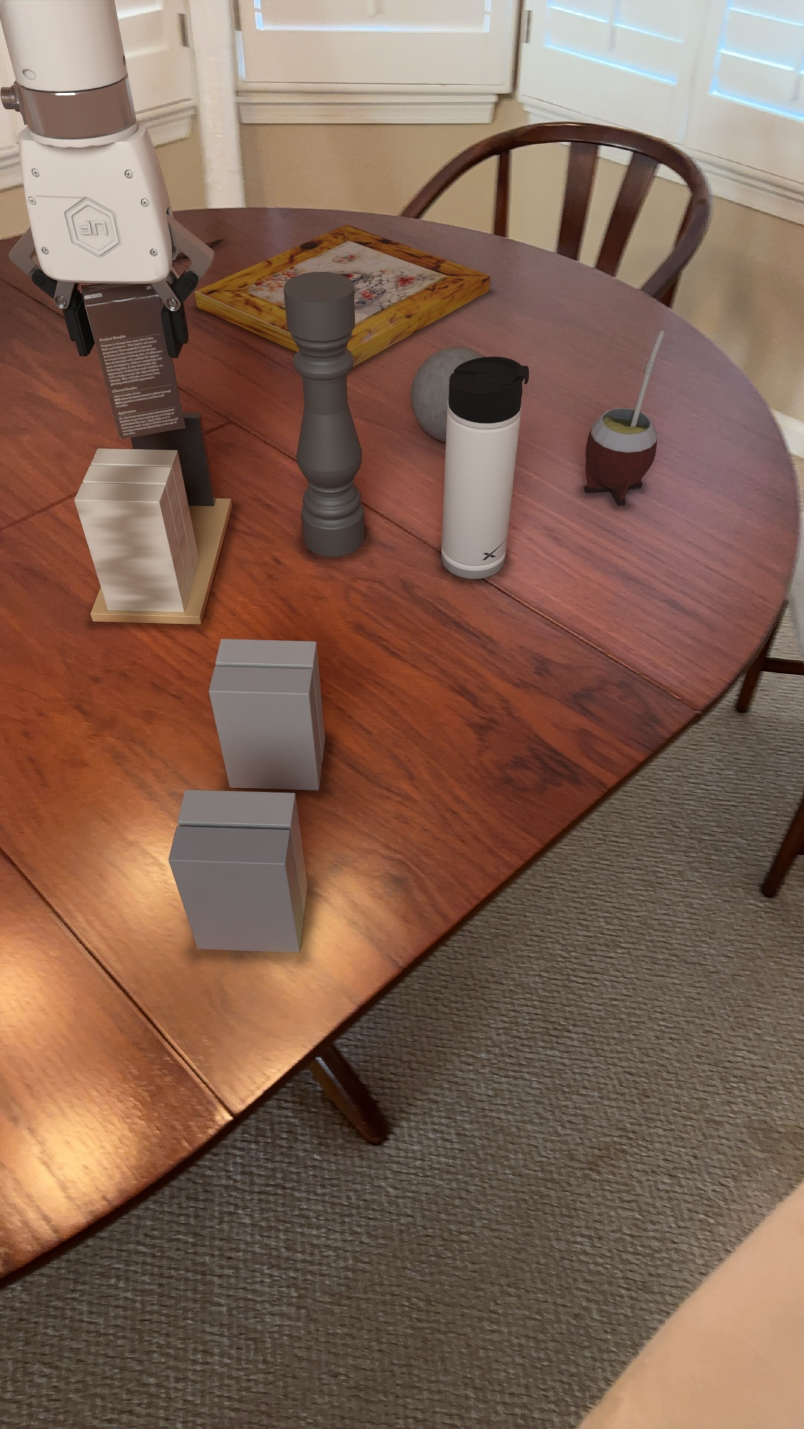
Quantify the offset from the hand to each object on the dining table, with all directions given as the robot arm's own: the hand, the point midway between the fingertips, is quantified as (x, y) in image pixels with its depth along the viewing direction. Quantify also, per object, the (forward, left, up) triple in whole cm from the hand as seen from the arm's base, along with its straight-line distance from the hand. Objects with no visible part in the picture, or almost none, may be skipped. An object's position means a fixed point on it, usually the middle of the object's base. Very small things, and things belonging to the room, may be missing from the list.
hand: (132, 347), depth 79 cm
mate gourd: (+45, +11, -20) cm, 50 cm away
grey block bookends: (+14, -35, -20) cm, 43 cm away
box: (0, 0, -7) cm, 7 cm away
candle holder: (+16, +1, -20) cm, 26 cm away
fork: (-12, +66, -20) cm, 70 cm away
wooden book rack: (0, -4, -20) cm, 20 cm away
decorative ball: (+28, +20, -20) cm, 40 cm away
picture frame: (+13, +54, -20) cm, 59 cm away
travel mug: (+30, -2, -20) cm, 36 cm away
